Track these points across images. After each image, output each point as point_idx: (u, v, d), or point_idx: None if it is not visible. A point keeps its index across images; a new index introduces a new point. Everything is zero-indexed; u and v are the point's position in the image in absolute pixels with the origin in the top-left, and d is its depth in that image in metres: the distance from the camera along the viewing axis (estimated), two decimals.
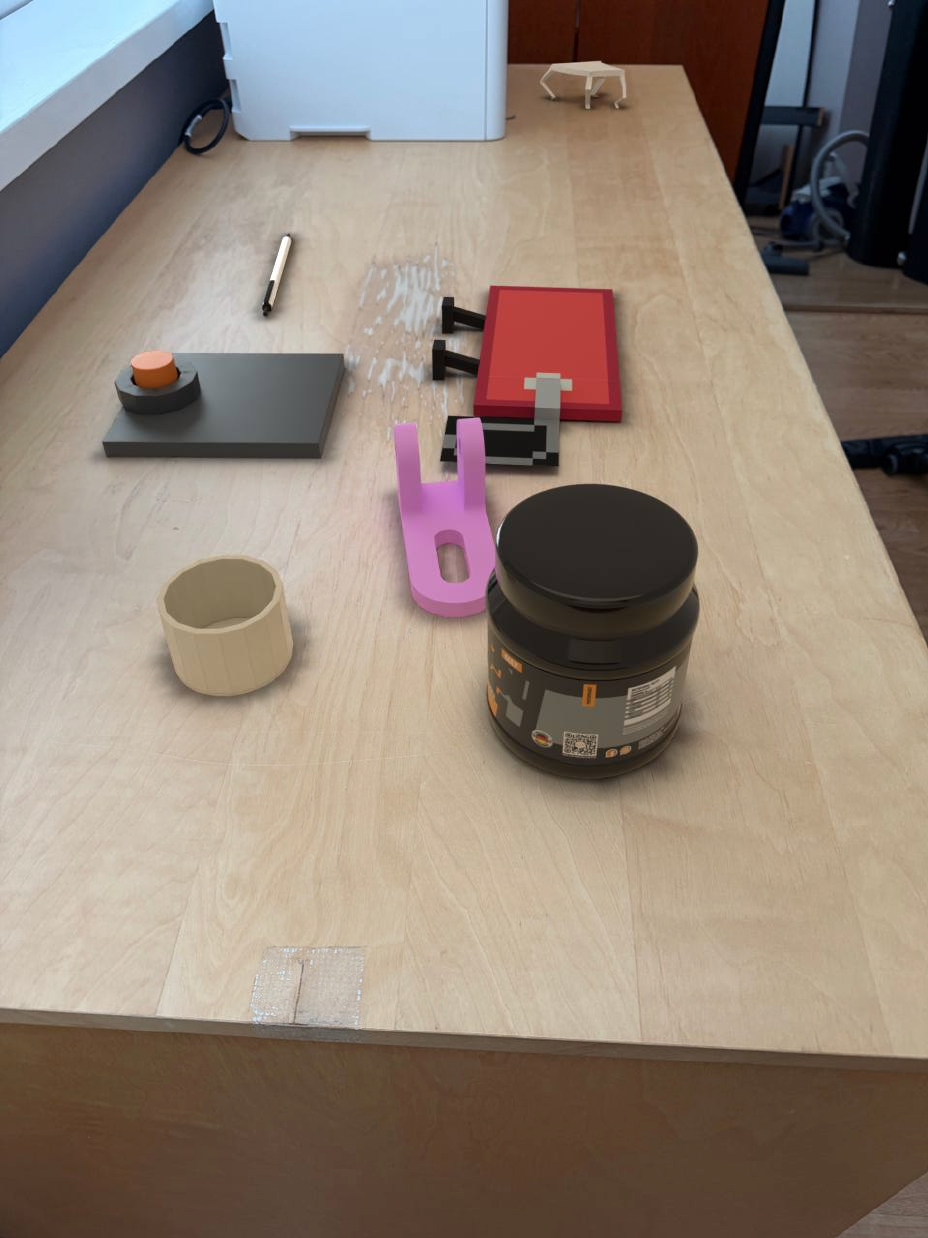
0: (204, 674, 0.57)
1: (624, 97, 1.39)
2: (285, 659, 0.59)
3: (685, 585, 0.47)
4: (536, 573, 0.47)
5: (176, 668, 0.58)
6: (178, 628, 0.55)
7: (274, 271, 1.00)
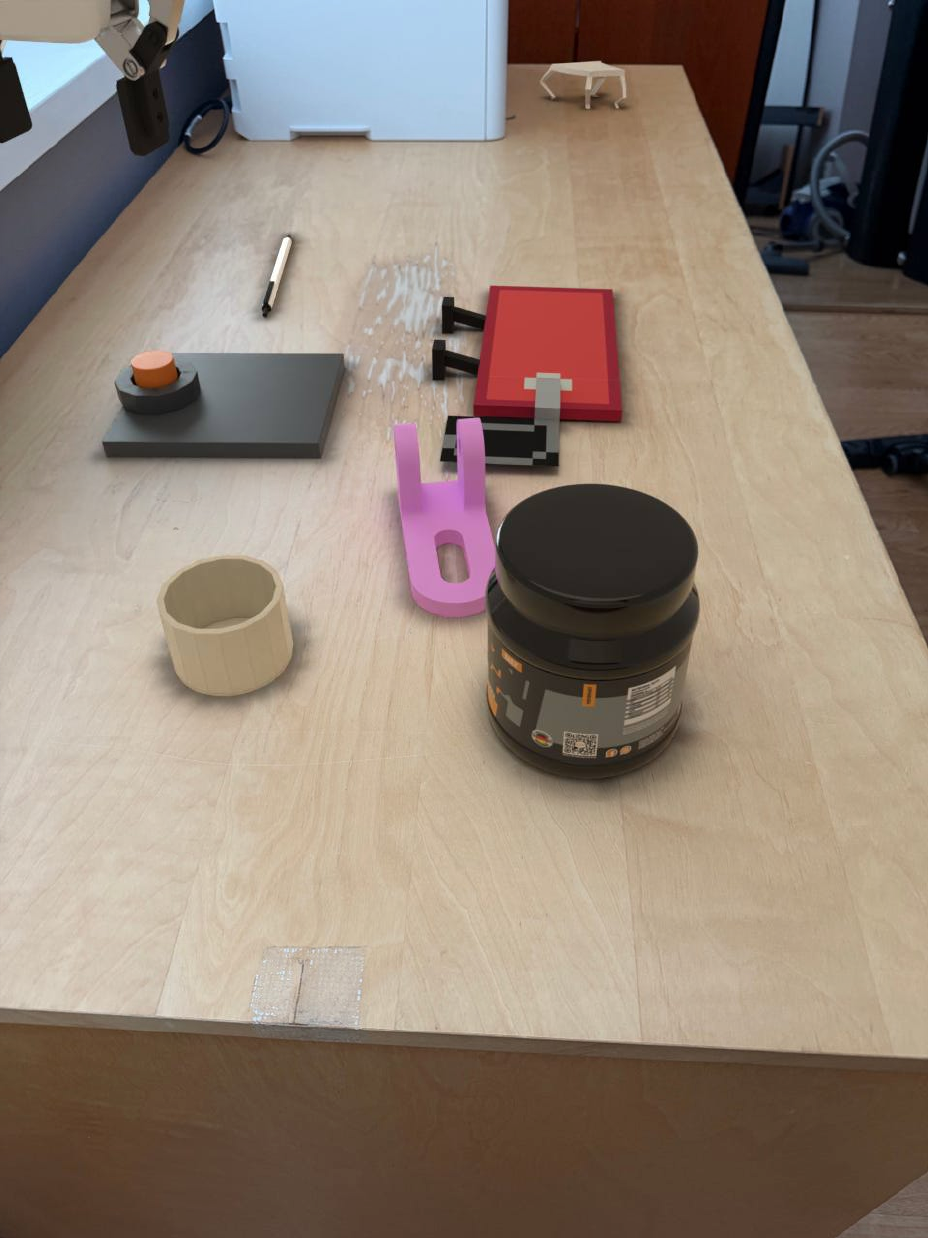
0: (204, 674, 0.57)
1: (624, 97, 1.39)
2: (285, 659, 0.59)
3: (685, 585, 0.47)
4: (536, 573, 0.47)
5: (176, 668, 0.58)
6: (178, 628, 0.55)
7: (274, 272, 1.00)
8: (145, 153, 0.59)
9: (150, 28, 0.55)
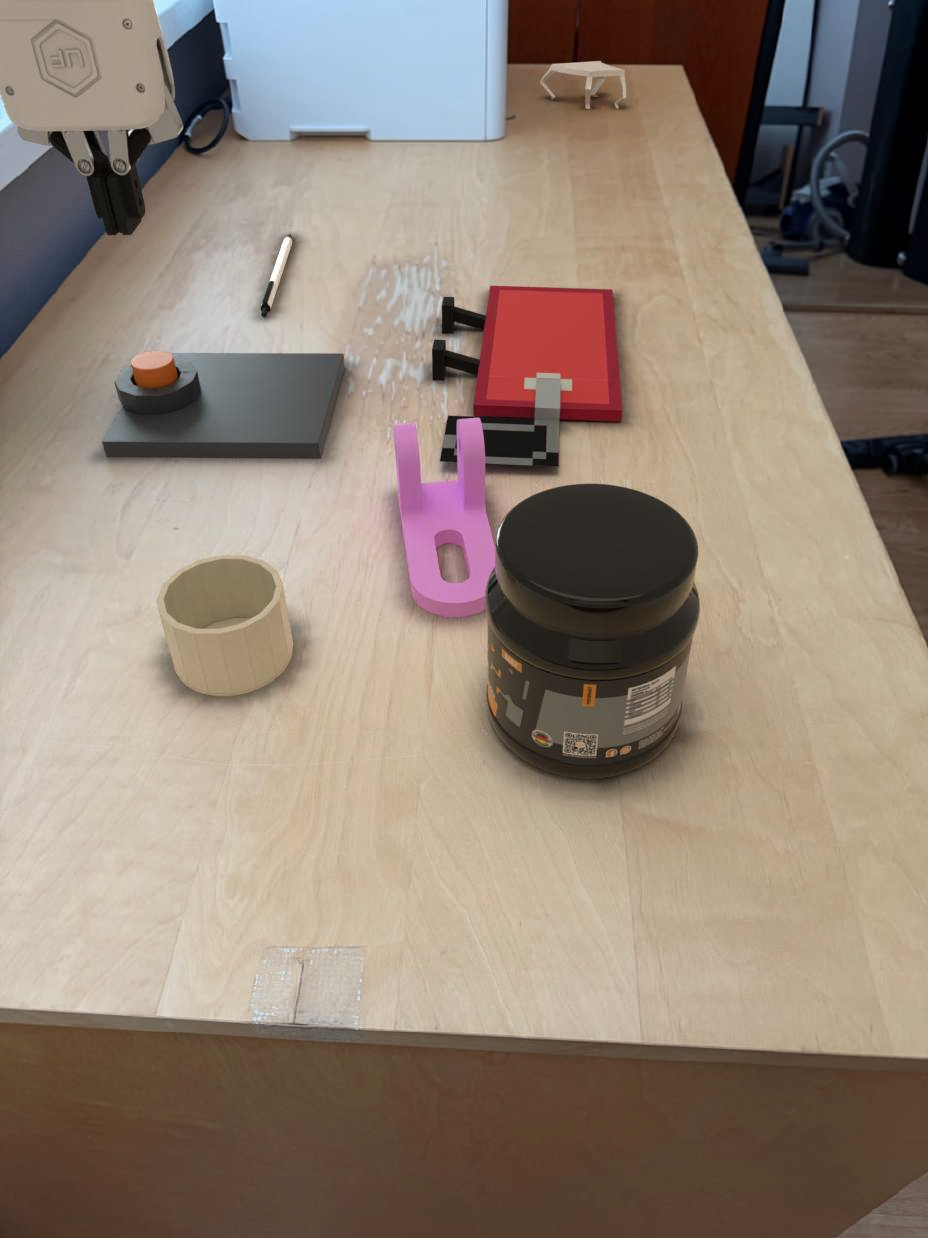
0: (204, 674, 0.57)
1: (624, 97, 1.39)
2: (285, 659, 0.59)
3: (685, 585, 0.47)
4: (536, 573, 0.47)
5: (176, 668, 0.58)
6: (178, 628, 0.55)
7: (274, 272, 1.00)
8: (131, 232, 0.72)
9: (137, 133, 0.68)
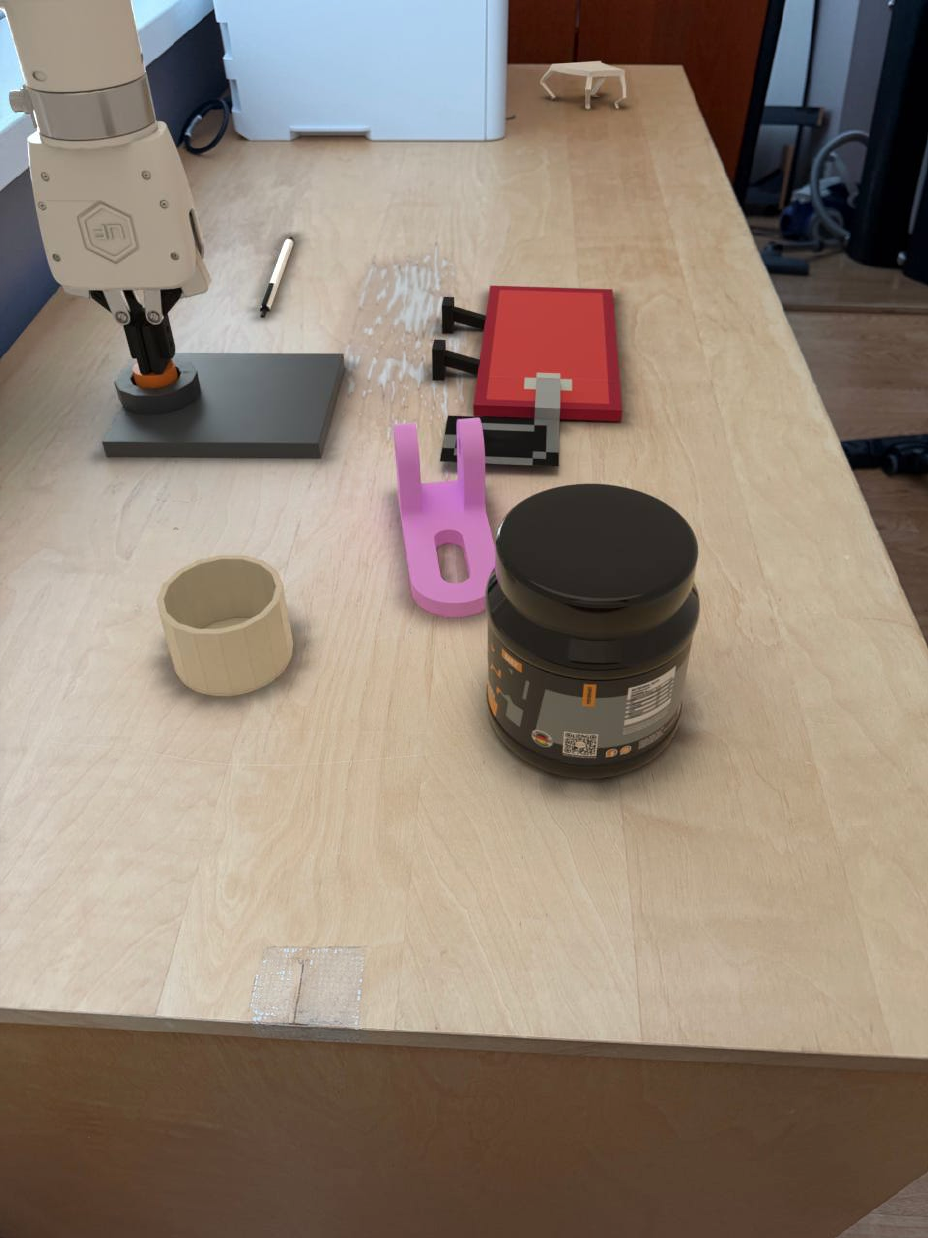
0: (204, 674, 0.57)
1: (624, 97, 1.39)
2: (285, 659, 0.59)
3: (685, 585, 0.47)
4: (536, 573, 0.47)
5: (176, 668, 0.58)
6: (178, 628, 0.55)
7: (274, 274, 1.00)
8: (163, 371, 0.79)
9: (169, 289, 0.74)
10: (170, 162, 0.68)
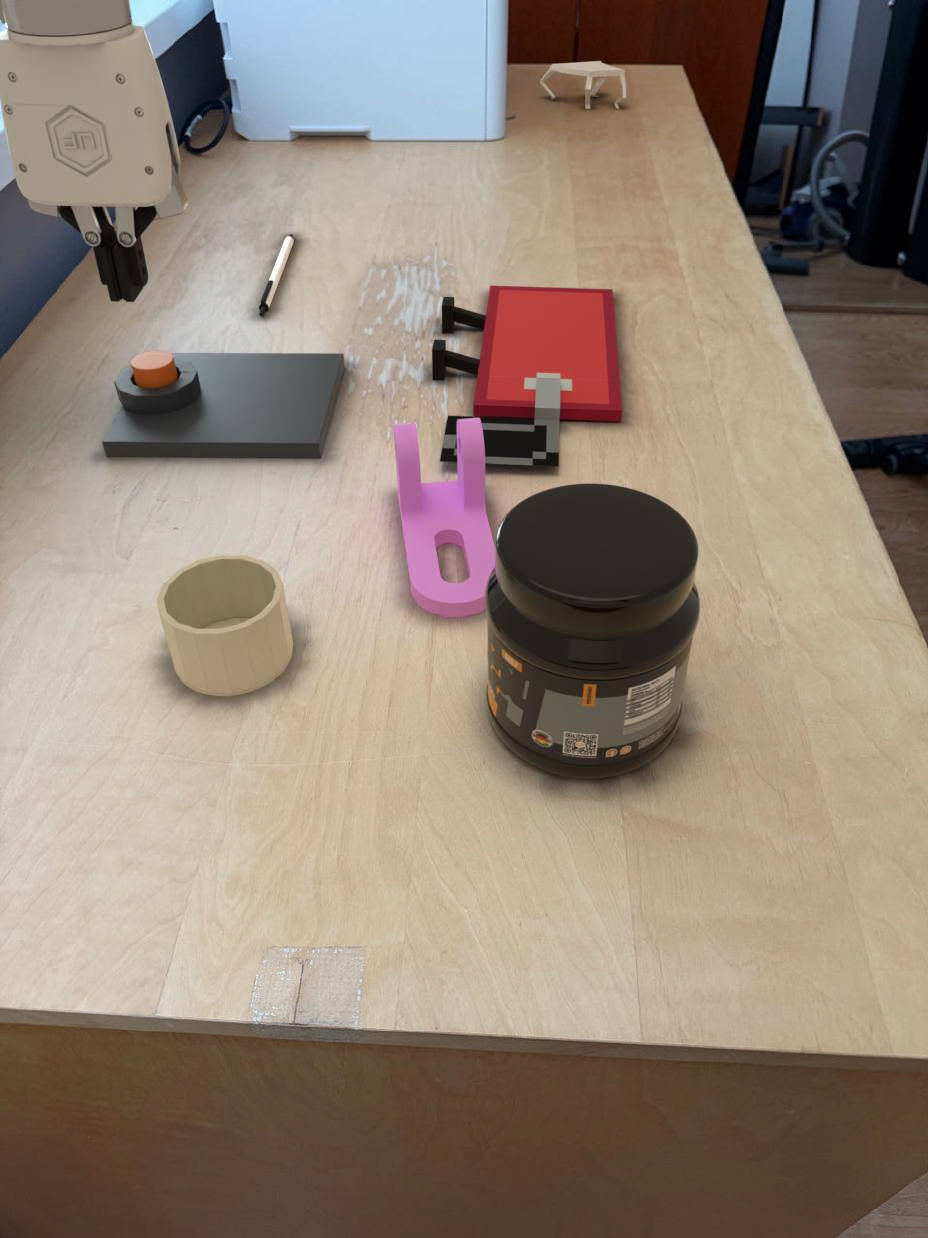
0: (204, 674, 0.57)
1: (624, 97, 1.39)
2: (285, 659, 0.59)
3: (686, 585, 0.47)
4: (536, 573, 0.47)
5: (176, 668, 0.58)
6: (178, 628, 0.55)
7: (274, 271, 1.00)
8: (134, 299, 0.75)
9: (143, 208, 0.71)
10: (146, 67, 0.64)
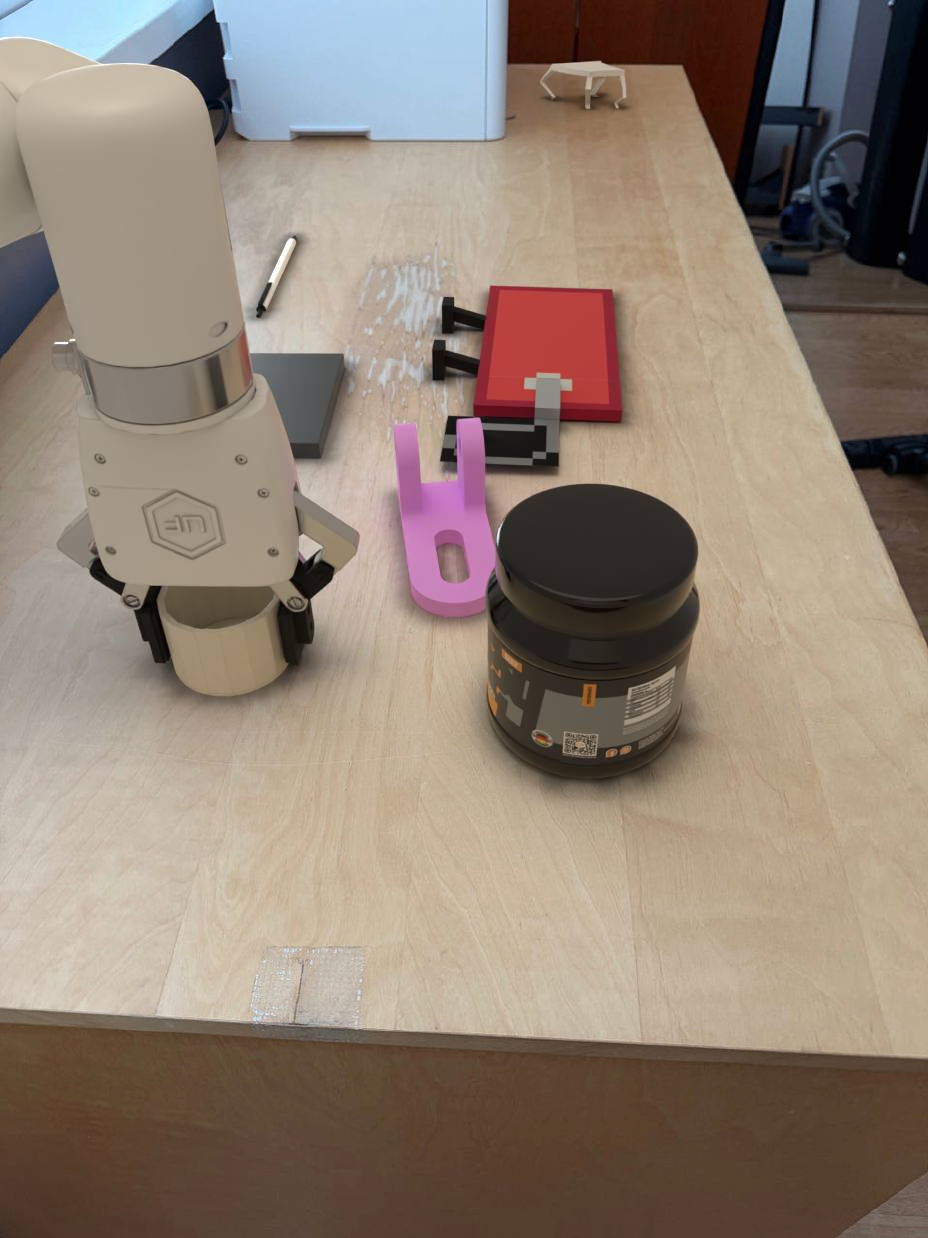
0: (204, 674, 0.57)
1: (624, 97, 1.39)
2: None
3: (685, 585, 0.47)
4: (536, 573, 0.47)
5: (176, 668, 0.58)
6: (178, 628, 0.55)
7: (273, 273, 1.00)
8: (299, 661, 0.59)
9: (320, 571, 0.55)
10: (273, 438, 0.49)
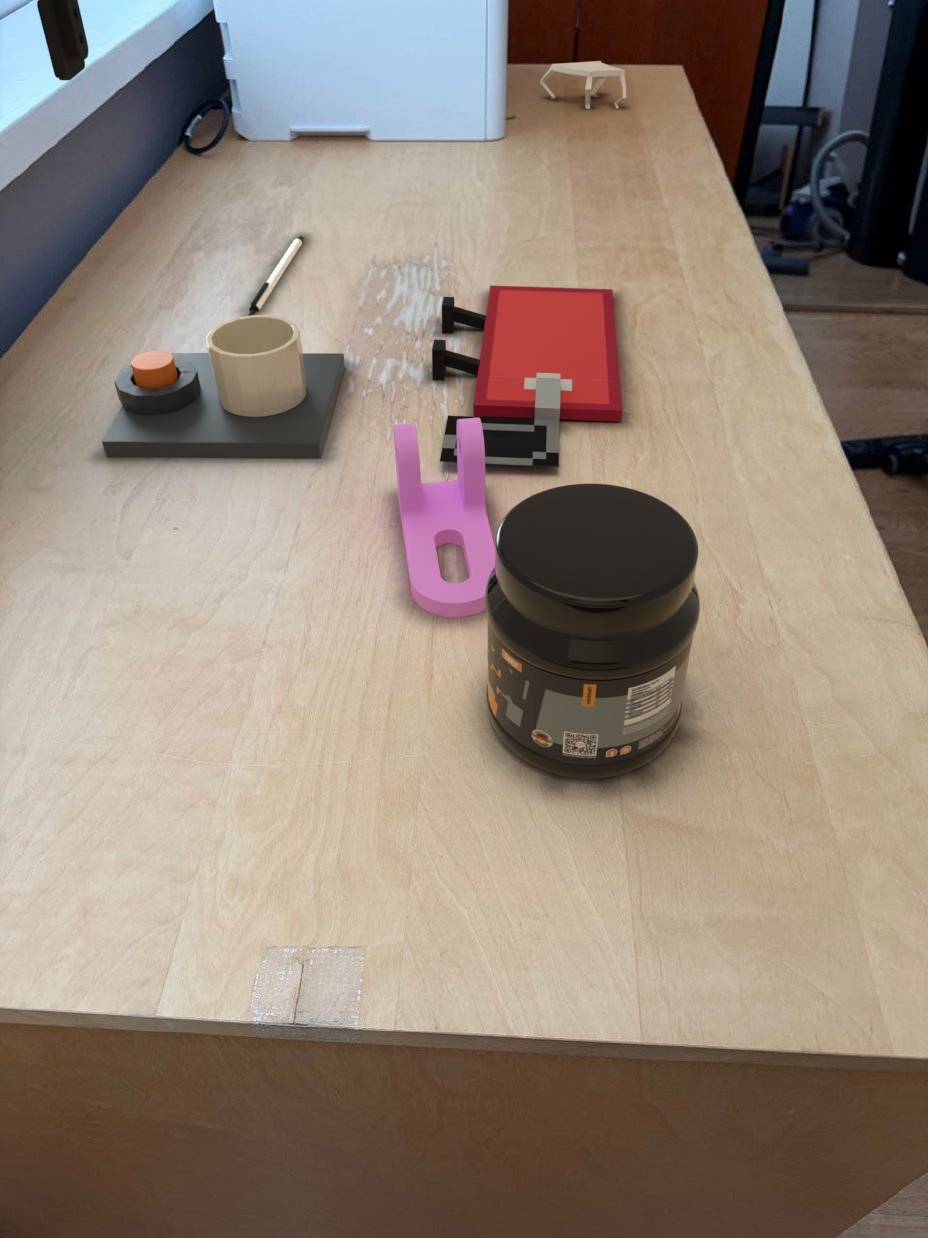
0: (241, 393, 0.77)
1: (624, 97, 1.39)
2: (300, 390, 0.79)
3: (685, 585, 0.47)
4: (536, 573, 0.47)
5: (220, 394, 0.79)
6: (223, 353, 0.75)
7: (272, 273, 1.00)
8: (70, 77, 0.58)
9: None
10: None
